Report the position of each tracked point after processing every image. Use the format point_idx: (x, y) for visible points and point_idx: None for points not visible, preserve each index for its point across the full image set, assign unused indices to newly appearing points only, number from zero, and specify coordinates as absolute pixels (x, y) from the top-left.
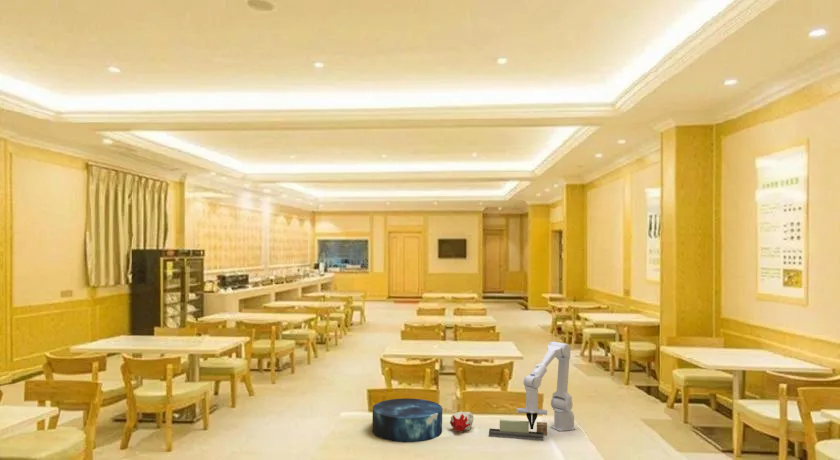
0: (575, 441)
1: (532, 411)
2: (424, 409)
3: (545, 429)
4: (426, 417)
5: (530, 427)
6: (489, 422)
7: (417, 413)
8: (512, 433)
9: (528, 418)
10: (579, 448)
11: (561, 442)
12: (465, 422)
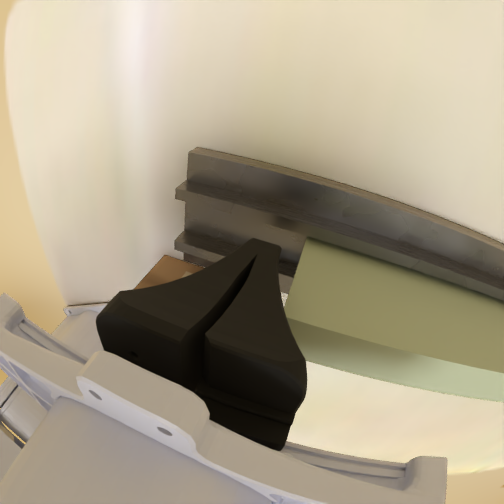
0: (36, 153)
1: (117, 415)
2: None
3: (152, 283)
4: None
5: (276, 253)
6: (433, 439)
7: None
8: (453, 267)
9: (278, 331)
10: (26, 44)
11: (86, 122)
12: None
